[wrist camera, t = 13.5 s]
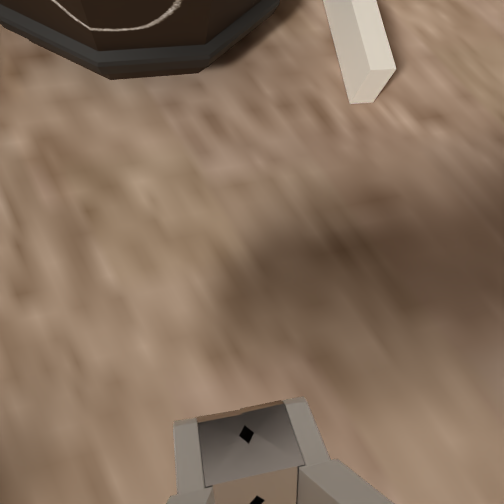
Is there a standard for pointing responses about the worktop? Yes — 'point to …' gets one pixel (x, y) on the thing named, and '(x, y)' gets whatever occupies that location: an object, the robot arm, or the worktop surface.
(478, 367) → the worktop surface
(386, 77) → the bay
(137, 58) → the black short wide cylinder
